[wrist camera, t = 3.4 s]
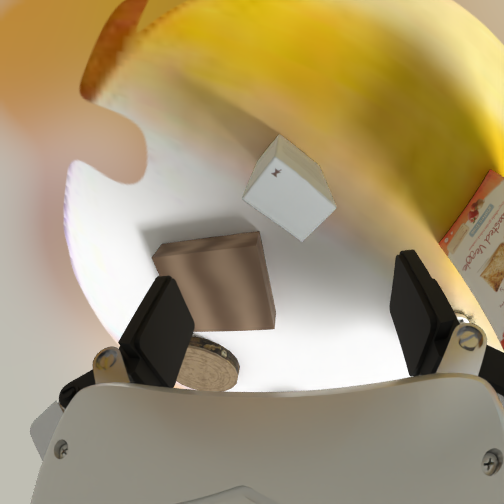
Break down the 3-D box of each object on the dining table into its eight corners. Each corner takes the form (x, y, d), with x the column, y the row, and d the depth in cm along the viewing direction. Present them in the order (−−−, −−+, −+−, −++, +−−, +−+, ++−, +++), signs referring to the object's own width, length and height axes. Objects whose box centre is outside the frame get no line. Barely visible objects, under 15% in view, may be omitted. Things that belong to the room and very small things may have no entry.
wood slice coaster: (150, 337, 50) (144, 348, 48) (220, 330, 46) (217, 343, 44) (187, 381, 58) (183, 391, 55) (251, 379, 53) (249, 391, 51)
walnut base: (259, 229, 35) (256, 245, 32) (275, 310, 42) (274, 329, 39) (163, 242, 38) (151, 257, 35) (193, 314, 45) (186, 331, 42)
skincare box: (256, 161, 30) (238, 198, 20) (279, 132, 28) (274, 153, 18) (297, 193, 31) (301, 245, 21) (321, 166, 29) (339, 206, 19)
